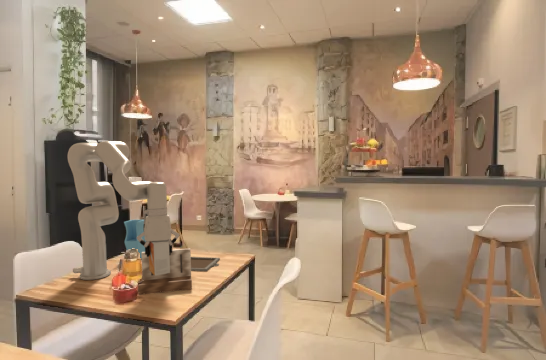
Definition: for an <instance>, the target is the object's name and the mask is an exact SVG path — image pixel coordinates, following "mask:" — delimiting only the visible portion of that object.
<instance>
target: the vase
mask: <svg viewBox="0 0 546 360" xmlns="http://www.w3.org/2000/svg"><path fill="white" fill-rule="evenodd" d="M123 225H124V227H125V230H126V231H125V232H126V233H125V239H124V240H123V241H124V246H125V248H126V251H127V250H128V249H132V248H135V249H138V252H139V253H140V258H141V259H140V260H142V254H141V253H142V252H145V247H144V246H143V245H142V244H141V243H140V242H139V241H138V240H137V236H139V235H140V234H141V233H143V232H144V231H145V229H144V226H145V219H130V220H126V221H123ZM141 238H142V240H144V241H145V235H144V236H143V237H141ZM145 242H146V241H145Z"/></svg>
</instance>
